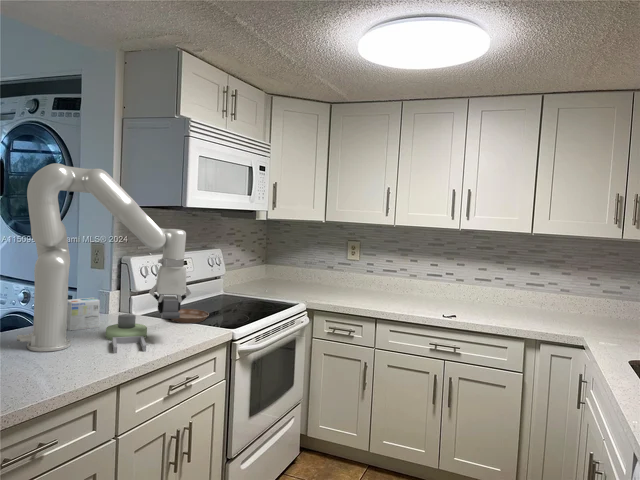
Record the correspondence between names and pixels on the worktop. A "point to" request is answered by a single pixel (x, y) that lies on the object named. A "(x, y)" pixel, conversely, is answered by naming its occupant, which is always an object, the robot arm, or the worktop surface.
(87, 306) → the light bulb box
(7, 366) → the worktop surface
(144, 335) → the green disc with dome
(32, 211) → the robot arm
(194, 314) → the plant saucer
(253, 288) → the worktop surface
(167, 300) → the grey sliding block
